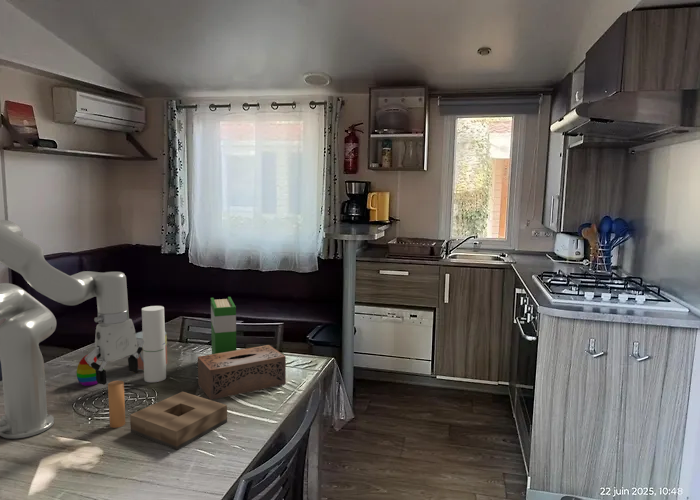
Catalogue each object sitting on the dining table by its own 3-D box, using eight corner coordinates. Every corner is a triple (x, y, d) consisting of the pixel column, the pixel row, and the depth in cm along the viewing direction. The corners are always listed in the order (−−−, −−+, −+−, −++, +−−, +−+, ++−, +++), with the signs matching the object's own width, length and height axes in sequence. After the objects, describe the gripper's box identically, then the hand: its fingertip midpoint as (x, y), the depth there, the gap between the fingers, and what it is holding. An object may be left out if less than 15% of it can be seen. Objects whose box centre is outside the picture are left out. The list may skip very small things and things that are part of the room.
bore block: (176, 450, 124) (176, 431, 124) (130, 432, 133) (130, 414, 132) (227, 421, 140) (226, 405, 139) (182, 407, 149) (182, 391, 148)
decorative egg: (91, 377, 171) (90, 349, 170) (109, 380, 168) (108, 352, 167) (71, 385, 163) (69, 356, 162) (90, 389, 161) (88, 359, 160)
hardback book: (211, 357, 193) (210, 297, 190) (231, 355, 195) (230, 296, 192) (215, 373, 176) (214, 308, 173) (236, 371, 179) (235, 306, 176)
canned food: (132, 371, 177) (131, 339, 175) (137, 361, 187) (136, 330, 186) (166, 369, 180) (165, 337, 178) (168, 358, 190) (167, 328, 189)
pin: (115, 429, 135) (113, 387, 133) (106, 425, 136) (104, 384, 135) (128, 423, 138) (126, 382, 137) (119, 419, 140) (117, 379, 138)
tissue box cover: (210, 400, 154) (210, 370, 153) (198, 385, 166) (197, 356, 165) (285, 384, 168) (285, 356, 167) (269, 371, 180) (268, 344, 179)
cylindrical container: (169, 375, 174) (167, 306, 171) (160, 382, 167) (157, 311, 164) (150, 374, 175) (148, 305, 172) (140, 381, 168) (137, 310, 164)
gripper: (92, 327, 124) (97, 391, 126) (149, 311, 139) (153, 369, 141) (74, 323, 128) (79, 385, 130) (132, 308, 143) (136, 365, 145)
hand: (118, 377), depth 136 cm, fingers open, 9 cm apart
